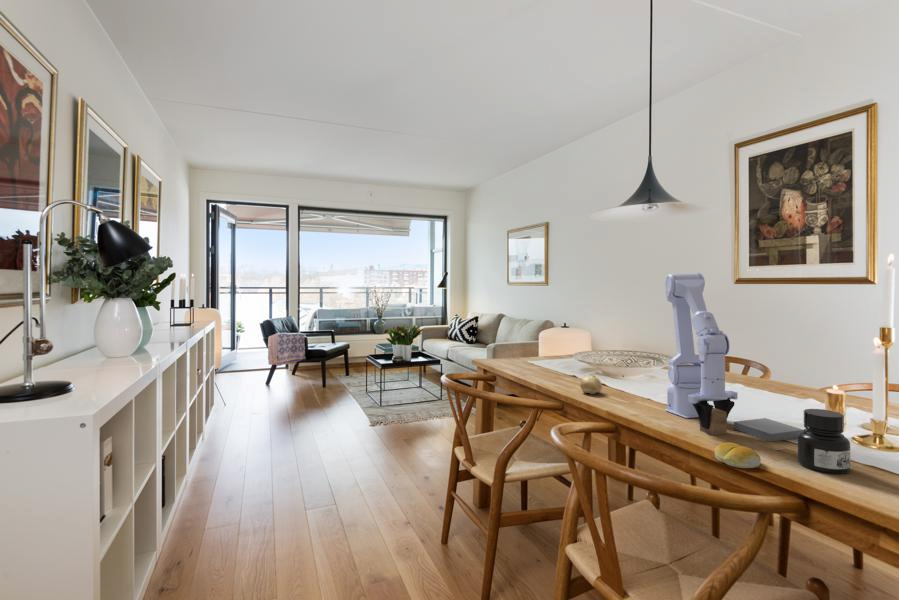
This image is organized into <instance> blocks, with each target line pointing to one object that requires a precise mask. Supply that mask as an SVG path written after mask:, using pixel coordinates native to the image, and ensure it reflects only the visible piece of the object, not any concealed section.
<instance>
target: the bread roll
mask: <svg viewBox="0 0 899 600" xmlns="http://www.w3.org/2000/svg"><path fill="white" fill-rule="evenodd" d="M714 457H715V459H716V460H717V461H719V462H720V463H724V464H726V465H728V466H730V467H733V468H739V469H754V468H758V467H760V465H761V461H762V459H761V456H760V455H759V454H758V453H757V452H756V451H755V450H753V448H750V447H747V446H743V445H742V446H741V445H740V444H739V443H736V442H723V443H720V444H718V445H717V446H716V447H715V450H714Z"/></svg>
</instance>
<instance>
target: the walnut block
mask: <svg viewBox="0 0 899 600" xmlns="http://www.w3.org/2000/svg"><path fill="white" fill-rule="evenodd" d="M727 421H728V418H727V412H725V411H722V410H719V409H716V408H715V407H713V409H712V412H711V417H710V428H709V429H706V428H703V427H702V426H701V423H700V422H699V431H700V432H703V433H705V434H708V435H710V434H711V436H720V435H727V434H728V433H727V432H728V430H727V427H728V424H727Z"/></svg>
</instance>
